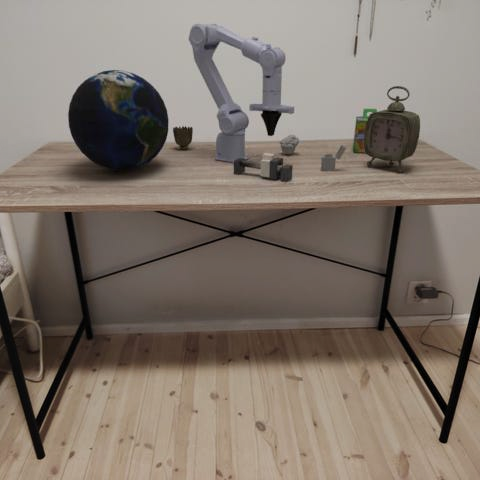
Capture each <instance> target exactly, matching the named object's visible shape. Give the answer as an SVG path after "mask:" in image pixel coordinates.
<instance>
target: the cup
mask: <svg viewBox="0 0 480 480" xmlns="http://www.w3.org/2000/svg"><path fill="white" fill-rule="evenodd" d="M193 129H194V128H193V126H191V127H190V126H188V127H187V126H186V125H185V126H184V125H183V126H179V127H178V126H175V127H172V132H173V139H174V142H175V144H176V145H178V148H179V150H180V151H187V150H189V149H190V145H191V144H192V142H193Z"/></svg>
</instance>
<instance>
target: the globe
mask: <svg viewBox="0 0 480 480" xmlns="http://www.w3.org/2000/svg"><path fill="white" fill-rule="evenodd" d="M67 114H68V116H67V117H68V128H69V132H70V135H71V137H72V139H73V141H74V144H75V145H76V147H77V148H78V149H79V151H80V152H81V153H82V154H83V155H84V156H85V157H86V158H87V159H89V160H90V161H91V162H92V163H94V164H96V165H98V166H99V167H102V168H105V169H108V170H112V171H121V172H122V171H124V172H125V171H132V170H136V169H139V168H141V167H143V166H146V165H147V164H149V163H151V162H152V161H153V160H154V159H155V158H156V157H157V156H158V155H159V153H160V152H161V150H163V147H164V145H165V143H166V141H167V138H168V133H169V114H168V110H167V107H166V103H165V102H164V100H163V98H162V96H161V94H160V93H159V91H157V89H156V88H155V87H154V86H153V85H152V84H151V83H150V82H148V81H147V80H146V79H145V78H143V77H141V76H139V75H138V74H136V73H133V72H130V71H125V70H119V69H113V70H111V69H109V70H103V71H101V72H96V73H94V74H93V75H91V76H90V77H88V78H87V79H85V80H84V81H83V82H82V83H80V85H79V86H78V87H77V88H76V90H75V92H74V93H73V95H72V97H71V100H70V102H69V106H68V112H67Z"/></svg>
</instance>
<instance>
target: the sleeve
mask: <svg viewBox="0 0 480 480" xmlns="http://www.w3.org/2000/svg"><path fill="white" fill-rule="evenodd" d="M275 158H276V154H275V153H268V152H265V153H263V154H262V159H260V162H261V169H260V177H264V178H269V171H270V161H271V160H273V159H275Z"/></svg>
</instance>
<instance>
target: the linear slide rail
mask: <svg viewBox="0 0 480 480" xmlns="http://www.w3.org/2000/svg"><path fill="white" fill-rule="evenodd" d="M293 167H294V166H293V164H285V165H283V166H282V165H278V164H277V172H281V176H280V181H281V182H283V183H284V182H285V183H288V182H289V181H291V180H292V179H293ZM246 168H250V169H257V170H261V161H252V160H247V159H246V160H245V159H243V158H238V159H236V160H234V162H233V174H234V175H238V176H239V175H242V174H243V173H246V172H245V171H246Z"/></svg>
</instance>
